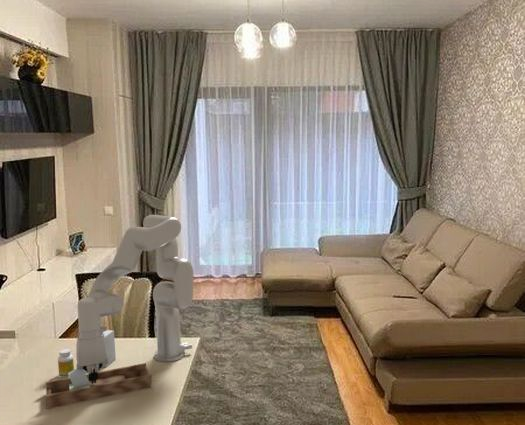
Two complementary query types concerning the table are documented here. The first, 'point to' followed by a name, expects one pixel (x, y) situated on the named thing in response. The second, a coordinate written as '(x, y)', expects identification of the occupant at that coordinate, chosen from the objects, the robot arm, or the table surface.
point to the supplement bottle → (65, 363)
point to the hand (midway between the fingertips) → (93, 381)
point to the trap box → (98, 386)
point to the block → (78, 378)
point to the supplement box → (109, 346)
